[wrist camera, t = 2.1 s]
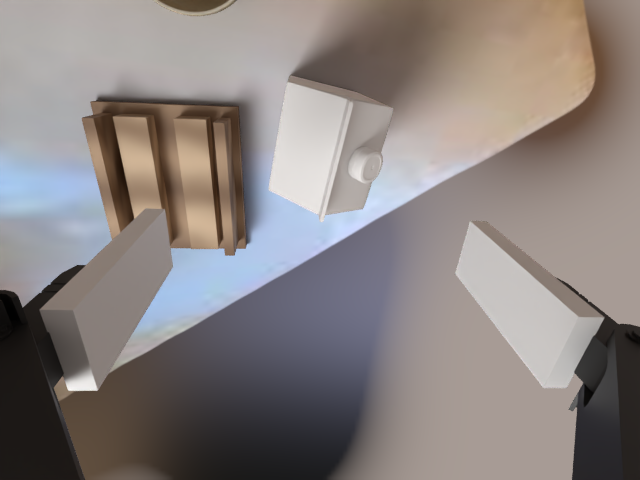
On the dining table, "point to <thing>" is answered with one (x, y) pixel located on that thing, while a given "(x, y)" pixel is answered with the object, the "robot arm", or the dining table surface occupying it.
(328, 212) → the milk carton
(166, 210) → the display stand
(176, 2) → the flower pot
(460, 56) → the dining table surface
